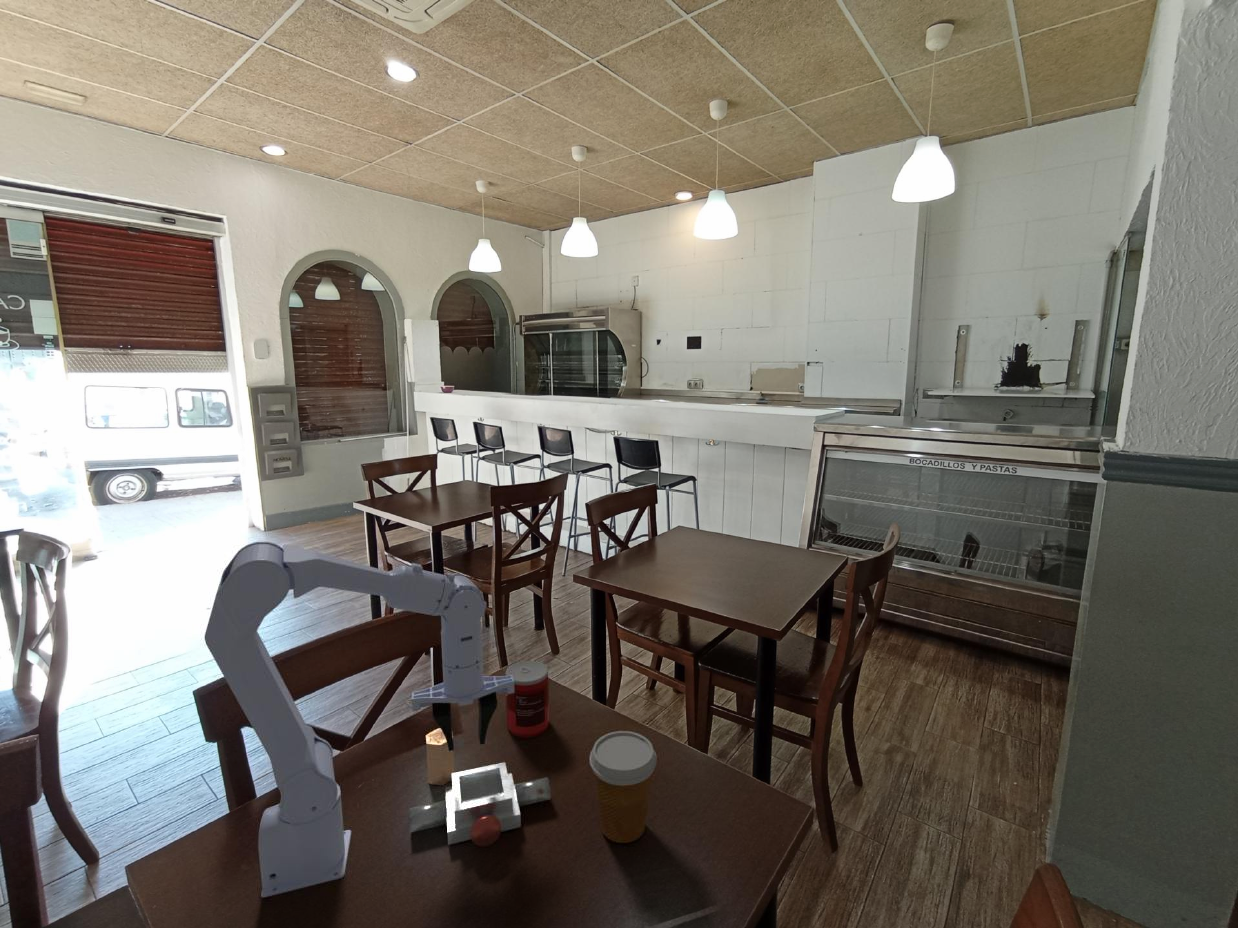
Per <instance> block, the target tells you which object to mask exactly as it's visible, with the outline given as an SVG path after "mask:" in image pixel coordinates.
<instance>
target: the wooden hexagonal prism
mask: <svg viewBox="0 0 1238 928" xmlns="http://www.w3.org/2000/svg"><path fill="white" fill-rule="evenodd" d="M452 735H453V733H452ZM453 736H454V735H453ZM425 740H426V742H425V743H426V758H427V759H426V760H427V761H426V762H427V775H428V776H427V777H428V784H429V785H435V786H444V785H445V784H447V783H449V782H450V781H452V773H456V770H455V769H456V768H455V751H454V750H455V749H454V750H453V751H449V749H448V744H447V741H446V738H445V736H444V734H443V732H442V730H441V728H440V727H439V728H437V729H434V730H433V731H430V732H429V733H428V734H426V735H425Z"/></svg>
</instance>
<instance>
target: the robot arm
mask: <svg viewBox="0 0 1238 928" xmlns="http://www.w3.org/2000/svg"><path fill="white" fill-rule="evenodd" d="M318 588H327V589H333V590H340V591H347V592H355V593H360V594H367V595H373V596H381V597H382V598H383V599H384V601H385V603H386V606H388V607H389V608H392V609H397V610H402V611H407V612H413V613H418V614H424V615H429V616H432V617H433V616H435V617H436V616H440V622H441V630H440V637H441V638H440V639H441V643H440V644H441V658H442V661H441V662H442V678H443V679H442V680H443V681H442V682H441V683H438V684H435V685H433V686H430V687H426V688H423V689H421V690H417V691H416V690H415V691H413V692H411V708H412V709H411V710H412V712H418V711H420V710H421V709H422V708H426V707H430V706H431V708H432V717H433V719H434V721H435V722H436V724H437V725H438V726H439V728H441V730H442V732H443V734H444V736H445V738H446V741H447V744H448V749H449V751H453V750H455V748H454V735H452V734H453V730H452V716H451V715H452V713H451V704H457V705H458V707H459V706H460V707H462V706H468V705H472V704H473V703H474V701H475V700H477V705H478V707H477V708H478V739H479V744H480V745H481V746H482V745H485V743H486V737H487V733H488V728H489V725H490V722H491V719H492V718H493V715H494V713H495V711H496V710H497V708H498V699H497V695H498V694H503V693H506V692H507V694H511V693H514V679H513V676H512V675H509V676H506V675H500V676H499V675H496V676H495V675H492V676H491V675H486V676H485V675H484V659H483V635H482V634H483V631H482V630H483V629H482V625H481V622H482V621H481V620H482V617H483V615H484V614H485V612H486V610H487V601H485V598H484V597H485V596H484V595H483V593H482V590H480V589H479V588H478V587H477V586H476V584H475V583H474V582H472V580H471V579H469V578H468V577H466V576H464V575H462V574H461V573H457V572H456V573H452V572H446V573H445V574H442V573H437V572H433V571H428V570H426V569H425V570H424V567H423V566H422V565H421V564H418V563H414V562H412V563H411V565H410V566H407V565H400V566H399V565H398V567H395V568H393V569H391V570H389V571H388V570H384V569H381V568H377V567H373V566H370V565H366V564H361V563H358V562H354V561H351V560H348V559H344V558H340V557H337V556H334V555H329V554H326V553H322V552H318V551H314V550H311V549H308V548H304V547H300V546H298V545H297V546H296V545H289V544H283V547H281V545H279V544H277V543H274V542H270V541H263V540H262V541H261V540H259V541H254V542H251V543H248V544H246V545H245V546H243V547H241V548H240V549H239V550H238V551H237V552H236V553H235V555H234V556H233V557H232V559H231V560H230V562H228V563H227V566H226V567H225V568H224V570H223V571H222V575H221V577H220V580H219V584H218V587H217V590H216V594H215V596H214V600H213V605H212V608H211V612H210V615H209V619H208V623H207V626H206V628H205V632H204V638H203V639H204V641H205V645H206V647H207V648H208V650H209V652H210V654H211V656H212V657H213V660H214V661H215V662H216V664H217V667H218V669H219V670H220V672H221V673H222V675H223V678H224V679H225V681H226V682H227V685H228V686H229V688H230V690H231V691H232V693H233V695H234V696H235V699H236V700H237V703H238V704H239V706H240V707H241V709H242V711H243V713H244V714H245V717H246V718H247V720H248V721H249V723H250V725H251V727H252V729H253V731H254V733H255V734H256V736H257V738H258V739H259V741H260V743H261V745H262V747H263V748H264V751H265V752H266V754H267V756H268V757H269V760H270V761H269V762H270V765H271V768H272V772H273V776H274V779H275V780H274V781H275V783H276V786H277V788H278V790H279V792H280V801H279V803H278V804H276V805H273V806H270V807H268V808H266V809H264V811H263V813H262V817H261V819H260V824H259V829H258V841H257V842H258V843H257V847H258V849H257V850H258V856H259V857H258V858H259V867H260V869H259V870H260V875H261V876H260V879H261V886H262V889H261V892H260V895H261V898H268V897H273V896H276V895H279V894H285V893H287V892H291V891H295V890H299V889H303V888H307V887H311V886H315V885H316V886H317V885H319V884H323V883H326V882H330V881H335V880H339V879H342V878H343V877H344V876H345V875H346V868H347V862H348V856H349V851H350V845H351V839H352V830H351V829H347V830H344V821H343V806H342V805H343V804H342V796H341V795H342V794H341V793H342V791H341V787H340V785H339V784H338V783H337V782H336V779H335V771H334V770H335V769H334V763H333V757H334V756H333V755H334V754H333V753H334V752H333V747H332V745H331V744H330V743H329V742H328V741H327V740H326V739H324V738H321V737H320V736H319V735H317V734H316V732H315V731H314V729H313V727H312V726H311V725H308V724H306V722H305V720H304V718H303V715H302V714H301V712H300V710H299V708H298V707H297V705H296V702H295V700H294V698H293V696H292V695H291V693H290V691H289V689H288V687H287V685H286V684H285V681H284V680H283V678H282V675H281V674H280V672H279V670H278V668H277V667H276V664H275V663H274V660H273V659H272V656H271V655H270V653H269V651H268V649H267V647H266V645H265V643H264V642H263V639H262V638H261V635H260V634H259V632H258V630H259V627H261V624H262V622H263V621H264V619H265V617H267V616H268V615H269V614H270V613H271V612H273V611H274V610H275V609H276V608H277V607H278V606H279V605H281V603H282V602H283V601H284V600H285V599H286V597H287V595H288V594H289V591H290V590H292V591H293V599H297V598H300V597H302V596H304V595H306V594H308V593H310V592H312V591H314V590H315V589H318Z"/></svg>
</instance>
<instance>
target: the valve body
mask: <svg viewBox="0 0 1238 928" xmlns="http://www.w3.org/2000/svg"><path fill="white" fill-rule="evenodd" d="M513 778H514V777H513V774H512V773H508V770H507V765H506V762H499V763H496V764H495V763H493V764H490V765H484V766H481V767H476V768H471V769H466V770H462V771H458V772H456V771H455V773H452V780H451V786H447V787H445V799H444V800H441V801H437V802H436V801H435V802H432V803H427V804H422V805H418V806H414V807H410V808H409V811H408V812H409V813H408V815H409V816H408V818H409V824H408V825H409V833H414V832H418V831H422V830H427V829H430V828H435V827H439V826H443V825H446V826H447V827H446V828H447V845H448V846H450V845H454V844H458V843H462V842H465V841H468V840H471V841H472V842H473V844H474V845H476V846H479V847H487V846H490V845H492V844H494V843H495V842H496V841H497V840H498V839H499V838H500V836H501V833H502V832H506V831H509V830H512V829H513V830H514V829H517V828H521V827H522V826H521V825H522V824H521V822H522V821H521V820H522V819H521V811H520V807H524V806H528V805H531V804H535V803H536V804H537V803H539V802H545V801H548V800H551V796H552V795H551V787H550V781H549V778H548V776H545V777H541V778H537V779H533V780H529V781H525V782H524V781H523V782H521V783H516V784H515V782H514V779H513Z"/></svg>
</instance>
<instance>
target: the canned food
mask: <svg viewBox="0 0 1238 928" xmlns="http://www.w3.org/2000/svg"><path fill="white" fill-rule="evenodd" d="M548 671H549V669H548V667H547V665H546V664H545V663H543V662H540V661H536V660H522V661H518V662H515V663H513V664H511V665H509V666H508V667H507V668H506V669H505V676H509V675H512V676H513V679H514V693H511V694H507V692H505V703H506V726H507V728H508V730H509V733H511V734H512V735H513V736H515V737H518V738H522V739H529V738H535V737H537V736H539V735H541V734H543V733H545V731H546V730H547V729H548V726H549V722H550V719H549V718H550V712H549V711H550V703H549V701H550V698H549V697H550V696H549V694H550V693H549V691H550V690H549V672H548Z"/></svg>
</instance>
